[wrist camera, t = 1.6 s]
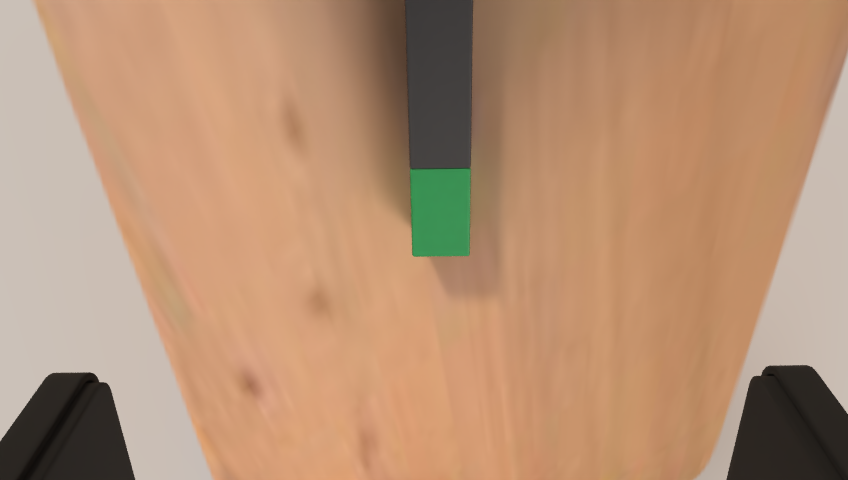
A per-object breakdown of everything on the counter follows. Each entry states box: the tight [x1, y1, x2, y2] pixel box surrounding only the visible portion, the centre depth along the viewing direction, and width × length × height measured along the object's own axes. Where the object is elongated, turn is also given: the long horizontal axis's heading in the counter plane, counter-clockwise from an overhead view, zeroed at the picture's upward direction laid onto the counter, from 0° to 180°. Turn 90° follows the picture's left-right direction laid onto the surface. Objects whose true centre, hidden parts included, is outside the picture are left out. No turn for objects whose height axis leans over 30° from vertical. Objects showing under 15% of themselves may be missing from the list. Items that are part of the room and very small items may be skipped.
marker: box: [405, 0, 473, 257], centre depth 29 cm, size 14×2×2 cm, turn 1°
